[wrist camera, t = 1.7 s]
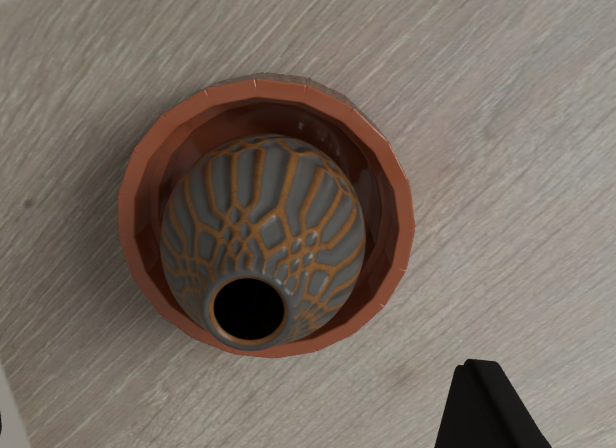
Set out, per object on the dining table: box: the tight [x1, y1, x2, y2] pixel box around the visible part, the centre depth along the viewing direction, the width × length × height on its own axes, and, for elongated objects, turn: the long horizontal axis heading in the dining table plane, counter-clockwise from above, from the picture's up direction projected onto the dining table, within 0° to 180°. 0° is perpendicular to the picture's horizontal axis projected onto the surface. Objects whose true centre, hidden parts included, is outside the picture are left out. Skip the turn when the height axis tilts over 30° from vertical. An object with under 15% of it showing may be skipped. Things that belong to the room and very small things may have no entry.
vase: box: [160, 133, 366, 351], centre depth 16 cm, size 7×7×9 cm
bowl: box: [118, 72, 415, 358], centre depth 19 cm, size 10×10×4 cm
